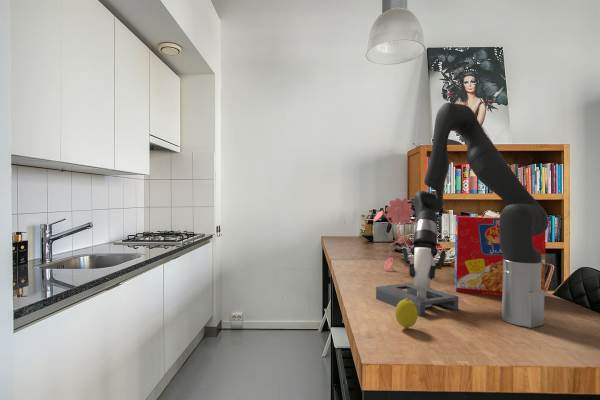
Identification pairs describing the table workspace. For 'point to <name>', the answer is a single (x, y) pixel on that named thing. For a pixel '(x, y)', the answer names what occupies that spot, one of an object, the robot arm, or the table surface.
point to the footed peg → (422, 271)
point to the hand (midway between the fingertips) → (421, 277)
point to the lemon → (406, 313)
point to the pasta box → (484, 256)
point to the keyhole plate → (415, 297)
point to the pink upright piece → (398, 213)
